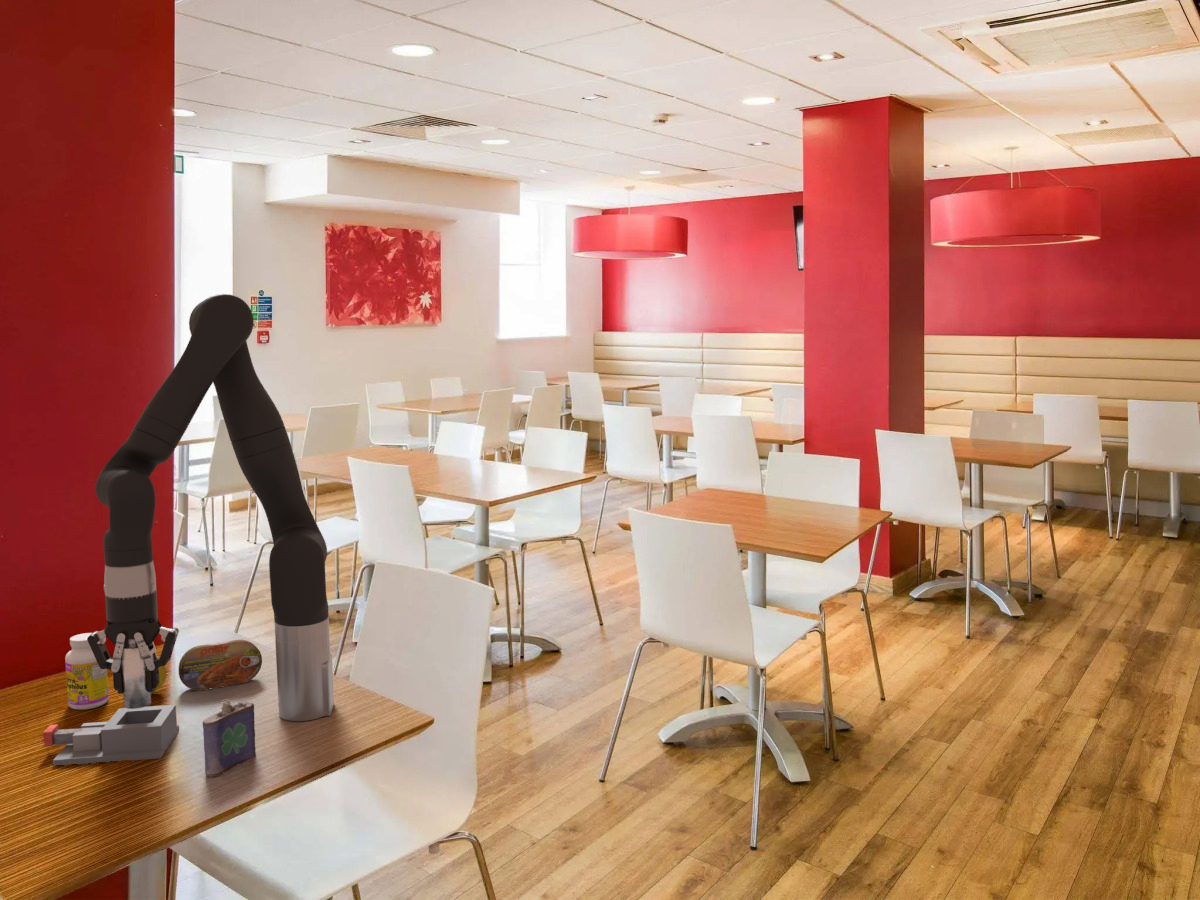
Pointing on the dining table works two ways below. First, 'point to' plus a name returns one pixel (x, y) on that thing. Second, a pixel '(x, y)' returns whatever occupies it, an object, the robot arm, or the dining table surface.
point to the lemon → (161, 677)
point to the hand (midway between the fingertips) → (136, 690)
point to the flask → (229, 738)
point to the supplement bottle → (84, 676)
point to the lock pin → (63, 735)
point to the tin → (219, 664)
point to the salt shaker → (134, 678)
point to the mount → (123, 737)
